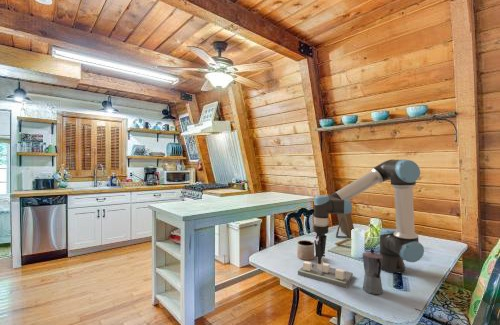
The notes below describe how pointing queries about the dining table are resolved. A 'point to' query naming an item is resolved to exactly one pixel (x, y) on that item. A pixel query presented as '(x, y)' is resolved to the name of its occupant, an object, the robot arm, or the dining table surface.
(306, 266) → the block
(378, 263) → the moka pot
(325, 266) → the block
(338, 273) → the block
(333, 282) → the switch board
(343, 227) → the photo frame
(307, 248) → the planter
